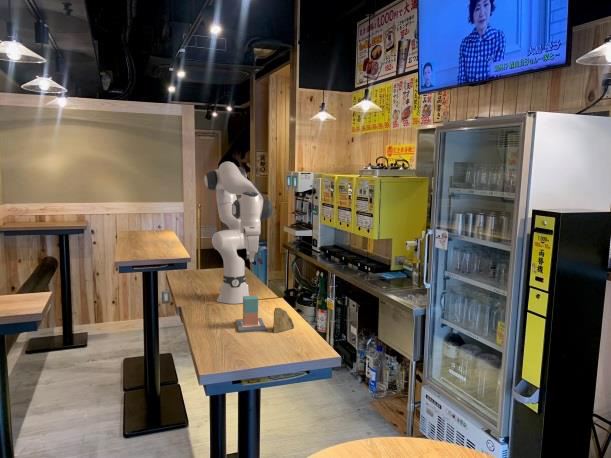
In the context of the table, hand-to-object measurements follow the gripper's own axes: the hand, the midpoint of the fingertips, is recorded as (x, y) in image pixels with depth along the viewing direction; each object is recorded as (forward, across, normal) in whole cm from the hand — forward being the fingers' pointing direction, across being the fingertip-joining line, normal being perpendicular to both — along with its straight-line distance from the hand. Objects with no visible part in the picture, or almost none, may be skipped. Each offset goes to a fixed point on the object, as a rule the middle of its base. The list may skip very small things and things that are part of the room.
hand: (250, 259), depth 204 cm
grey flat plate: (+30, 0, 0) cm, 30 cm away
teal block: (+23, 0, 0) cm, 23 cm away
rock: (+30, +8, +14) cm, 34 cm away
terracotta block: (+29, 0, 0) cm, 29 cm away
